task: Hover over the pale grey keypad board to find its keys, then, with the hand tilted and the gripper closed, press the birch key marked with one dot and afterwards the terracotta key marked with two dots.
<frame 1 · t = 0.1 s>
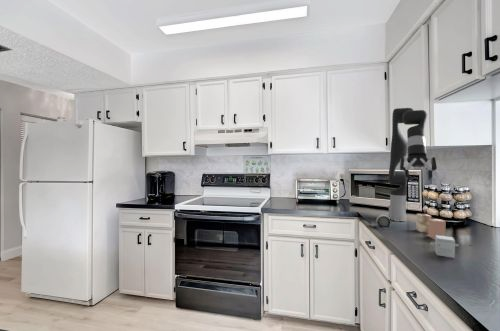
hand: (418, 178, 116), 31 cm above the worktop, tool tilted 20°, fingers open, 8 cm apart
key two: (436, 228, 124), point 6 cm above the worktop, slide at 0.0 cm
product box: (444, 255, 106), on the worktop
keypad board: (429, 237, 130), on the worktop
key one: (423, 222, 136), point 6 cm above the worktop, slide at 0.0 cm
ceramic mug: (380, 227, 150), on the worktop
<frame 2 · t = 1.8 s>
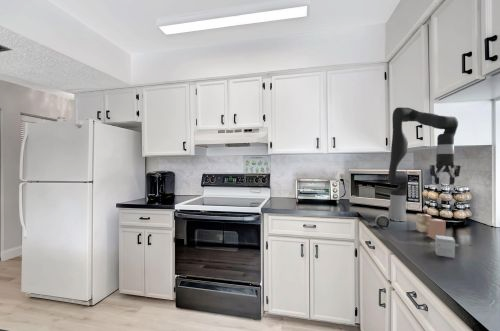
hand: (444, 184, 134), 28 cm above the worktop, tool pointing down, fingers open, 6 cm apart
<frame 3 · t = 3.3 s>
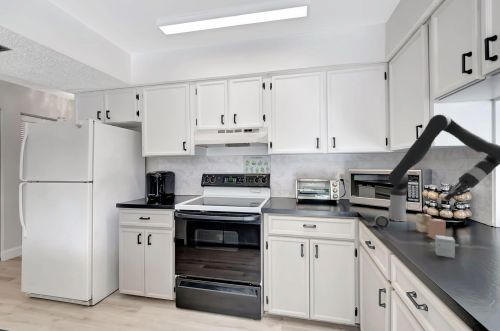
hand: (445, 199, 134), 19 cm above the worktop, tool tilted 45°, fingers closed
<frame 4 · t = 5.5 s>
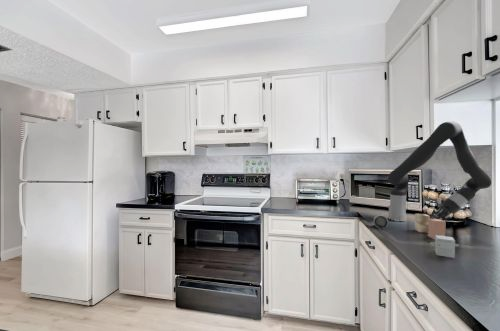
hand: (428, 224, 136), 5 cm above the worktop, tool tilted 45°, fingers closed
key one: (422, 222, 137), point 6 cm above the worktop, slide at 0.7 cm, touching gripper
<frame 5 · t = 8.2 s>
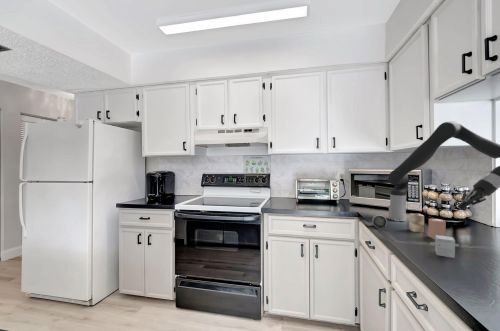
hand: (459, 208, 124), 17 cm above the worktop, tool tilted 45°, fingers closed
key one: (416, 222, 137), point 6 cm above the worktop, slide at 3.5 cm
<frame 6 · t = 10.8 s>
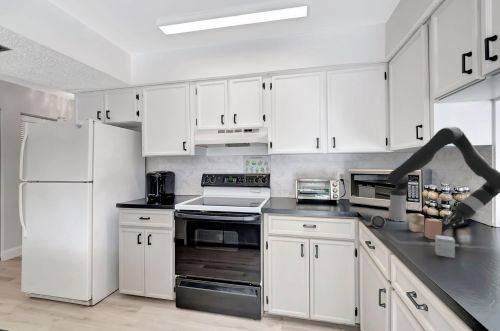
hand: (439, 230, 124), 5 cm above the worktop, tool tilted 45°, fingers closed
key two: (433, 228, 124), point 6 cm above the worktop, slide at 1.6 cm, touching gripper
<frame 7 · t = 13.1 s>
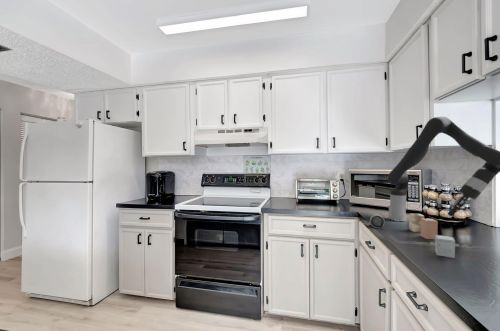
hand: (449, 215, 128), 12 cm above the worktop, tool tilted 30°, fingers closed
key two: (428, 228, 125), point 6 cm above the worktop, slide at 3.5 cm
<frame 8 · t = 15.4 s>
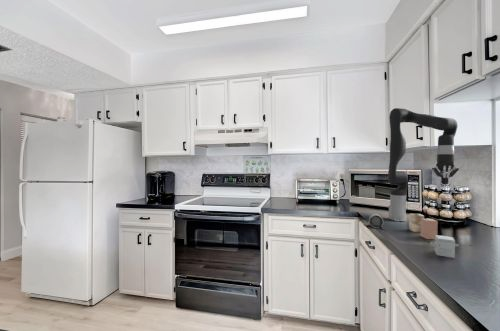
hand: (444, 184, 140), 27 cm above the worktop, tool pointing down, fingers closed
at the end: key one slide at 3.5 cm; key two slide at 3.5 cm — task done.
